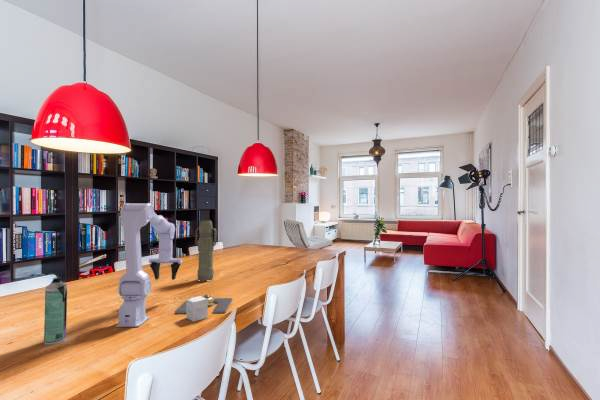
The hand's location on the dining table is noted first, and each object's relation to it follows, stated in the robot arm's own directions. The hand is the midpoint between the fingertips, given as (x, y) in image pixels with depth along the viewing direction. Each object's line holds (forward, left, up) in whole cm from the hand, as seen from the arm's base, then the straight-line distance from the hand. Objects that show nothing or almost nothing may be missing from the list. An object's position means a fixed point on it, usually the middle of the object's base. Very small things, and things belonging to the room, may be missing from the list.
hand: (165, 279), depth 140 cm
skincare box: (-22, -20, -10) cm, 31 cm away
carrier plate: (-8, -20, -10) cm, 24 cm away
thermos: (+40, -8, -10) cm, 42 cm away
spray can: (-41, +19, -10) cm, 46 cm away
